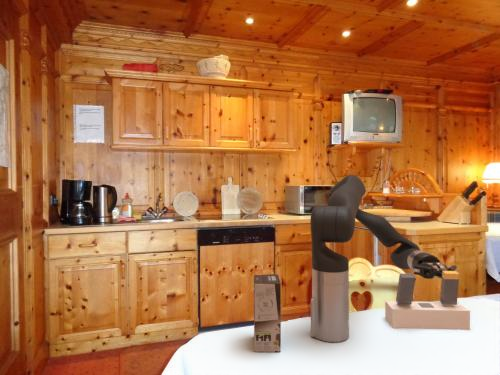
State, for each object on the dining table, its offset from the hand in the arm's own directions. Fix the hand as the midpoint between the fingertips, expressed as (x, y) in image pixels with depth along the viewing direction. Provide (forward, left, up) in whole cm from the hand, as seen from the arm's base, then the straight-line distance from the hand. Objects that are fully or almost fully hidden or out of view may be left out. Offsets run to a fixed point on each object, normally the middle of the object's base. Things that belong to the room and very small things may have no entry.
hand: (449, 277), depth 102 cm
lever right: (0, 0, -7) cm, 7 cm away
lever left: (-12, -3, -7) cm, 14 cm away
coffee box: (-44, -27, -13) cm, 53 cm away
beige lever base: (-6, -1, -13) cm, 14 cm away
